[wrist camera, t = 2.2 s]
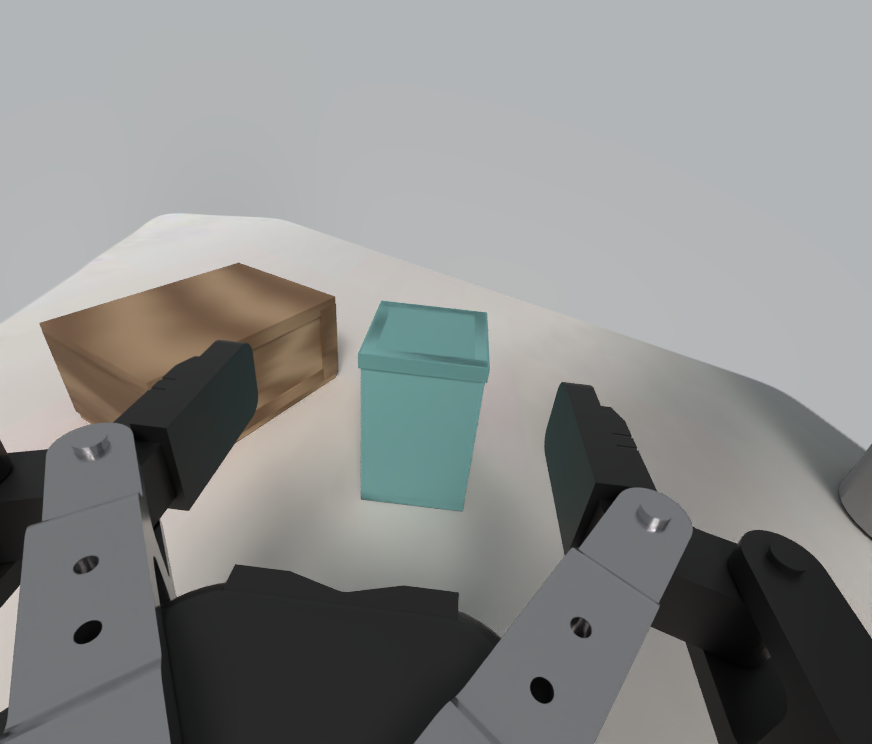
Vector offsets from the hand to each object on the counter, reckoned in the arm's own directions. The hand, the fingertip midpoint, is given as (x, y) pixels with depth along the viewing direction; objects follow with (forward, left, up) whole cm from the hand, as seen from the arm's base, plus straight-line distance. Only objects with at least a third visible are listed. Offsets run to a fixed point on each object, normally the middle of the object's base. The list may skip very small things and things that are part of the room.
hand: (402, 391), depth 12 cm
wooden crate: (-8, -21, -14) cm, 27 cm away
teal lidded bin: (-10, -5, -14) cm, 18 cm away
